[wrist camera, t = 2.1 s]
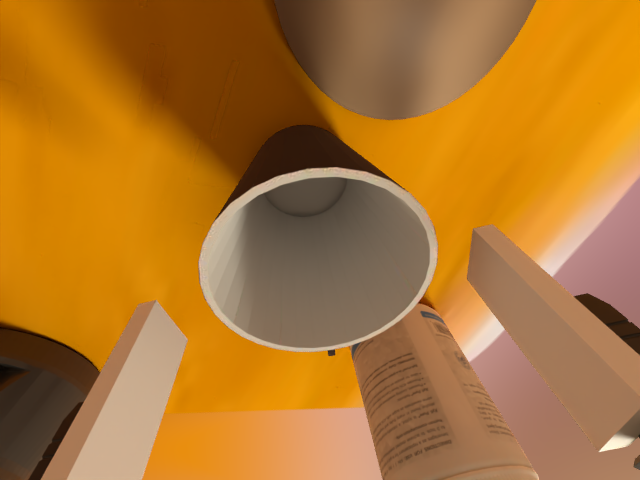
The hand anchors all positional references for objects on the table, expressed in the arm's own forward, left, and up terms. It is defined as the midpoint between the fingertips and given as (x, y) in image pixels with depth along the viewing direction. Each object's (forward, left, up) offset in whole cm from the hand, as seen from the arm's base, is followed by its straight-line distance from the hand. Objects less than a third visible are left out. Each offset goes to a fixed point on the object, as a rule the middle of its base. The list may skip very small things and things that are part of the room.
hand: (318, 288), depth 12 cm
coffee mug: (0, 0, -9) cm, 9 cm away
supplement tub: (+5, -17, -9) cm, 20 cm away
